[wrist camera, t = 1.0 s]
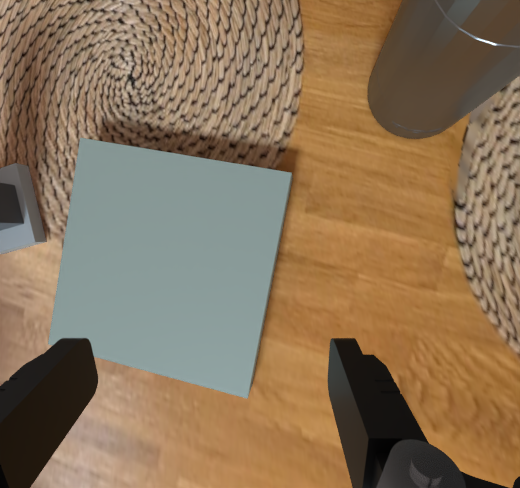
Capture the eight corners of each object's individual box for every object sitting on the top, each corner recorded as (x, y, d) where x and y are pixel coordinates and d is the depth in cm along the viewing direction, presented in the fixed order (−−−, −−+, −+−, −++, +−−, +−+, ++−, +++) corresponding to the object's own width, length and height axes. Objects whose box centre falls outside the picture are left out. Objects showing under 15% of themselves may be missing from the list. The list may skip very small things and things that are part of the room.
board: (96, 144, 33) (80, 137, 31) (292, 177, 30) (291, 172, 28) (66, 336, 35) (48, 344, 32) (251, 385, 32) (247, 398, 29)
